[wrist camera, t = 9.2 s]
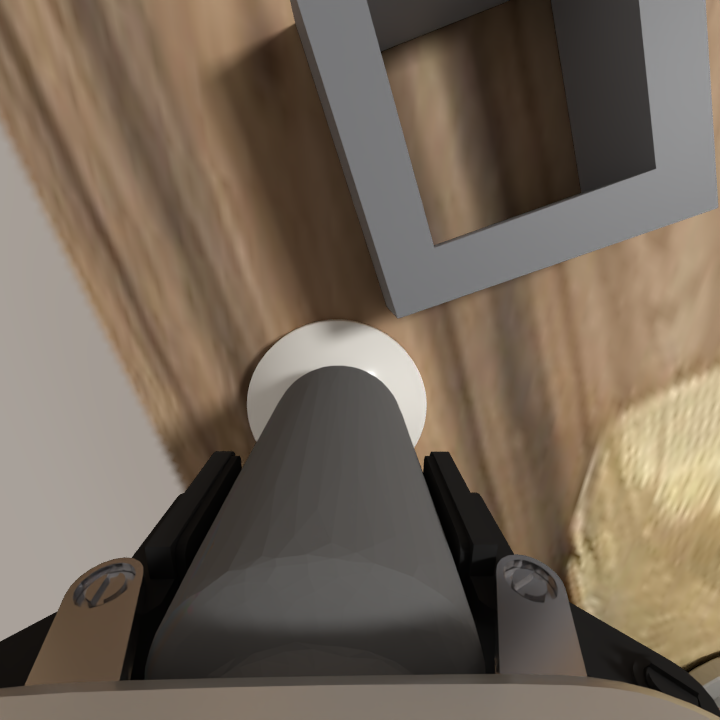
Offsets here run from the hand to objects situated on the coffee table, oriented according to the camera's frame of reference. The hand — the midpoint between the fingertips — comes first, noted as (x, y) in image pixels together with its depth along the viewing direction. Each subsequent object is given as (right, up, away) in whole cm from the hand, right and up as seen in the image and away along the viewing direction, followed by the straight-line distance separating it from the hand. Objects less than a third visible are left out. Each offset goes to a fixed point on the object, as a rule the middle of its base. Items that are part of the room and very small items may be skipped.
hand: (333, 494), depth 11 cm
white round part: (0, +2, +7) cm, 7 cm away
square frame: (+6, +14, +4) cm, 16 cm away
